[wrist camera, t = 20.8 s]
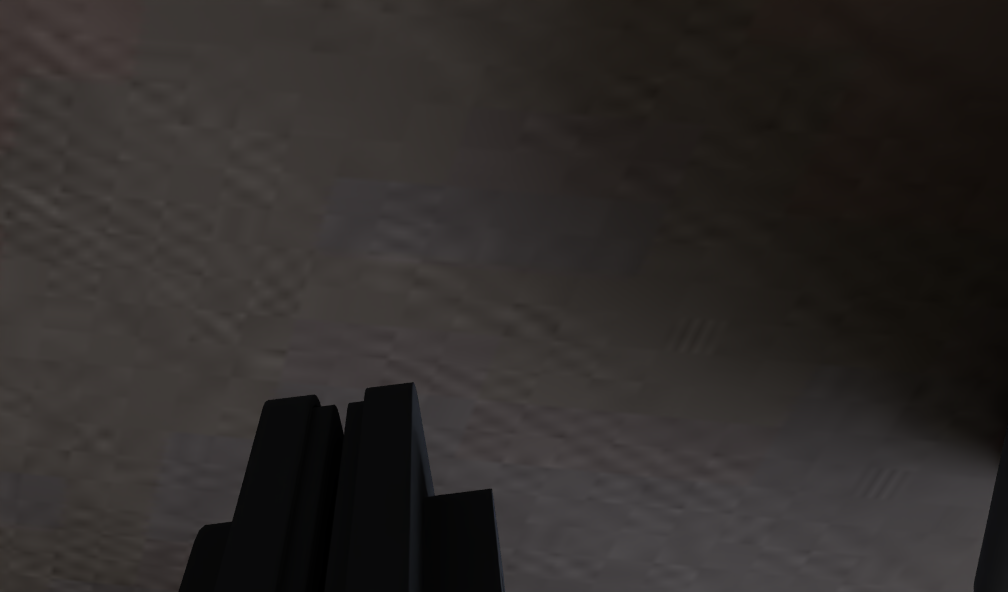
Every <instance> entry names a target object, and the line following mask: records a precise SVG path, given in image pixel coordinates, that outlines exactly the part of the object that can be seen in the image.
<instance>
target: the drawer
mask: <svg viewBox="0 0 1008 592" xmlns="http://www.w3.org/2000/svg"><path fill="white" fill-rule="evenodd" d="M974 592H1008V425H1007V430H1006V435H1005V439H1004V444H1003V449H1002V453H1001V458H1000V463H999V468H998V472H997V477H996V482H995V486H994V491H993V496H992V501H991V505H990V510H989V515H988V519H987V524H986V529H985V534H984V538H983V543H982V548H981V552H980V557H979V562H978V567H977V571H976V576H975V581H974Z"/></svg>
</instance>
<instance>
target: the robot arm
mask: <svg viewBox="0 0 1008 592" xmlns="http://www.w3.org/2000/svg"><path fill="white" fill-rule="evenodd" d="M179 592H505V586H504V577H503V569H502V561H501V553H500V545H499V537H498V529H497V522H496V514H495V507H494V499H493V493H492V489H485V490H477V491H469V492H461V493H453V494H446V495H438V496H435V494H434V488H433V482H432V477H431V471H430V465H429V459H428V454H427V448H426V442H425V436H424V431H423V425H422V419H421V413H420V408H419V402H418V396H417V391H416V387H415V384H414V382H412V383H404V384H396V385H388V386H380V387H371V388H367V389H366V390H365V396H364V401H361V402H353V403H349V404H348V408H347V416H346V424H345V432H344V434H343V429H342V425H341V420H340V416H339V412H338V409H337V407H336V406H335V405H329V406H321V405H320V402H319V399H318V397H317V396H316V395H307V396H299V397H291V398H283V399H275V400H268V401H266V402H265V404H264V406H263V409H262V413H261V416H260V420H259V424H258V428H257V431H256V435H255V439H254V442H253V446H252V450H251V454H250V457H249V461H248V465H247V468H246V472H245V476H244V480H243V483H242V487H241V491H240V495H239V498H238V502H237V506H236V509H235V513H234V517H233V521H232V522H226V523H218V524H210V525H205V526H204V527H202V528H201V529H200V530H199V532H198V534H197V537H196V539H195V541H194V544H193V547H192V550H191V554H190V557H189V560H188V563H187V566H186V570H185V573H184V576H183V579H182V582H181V586H180V589H179Z"/></svg>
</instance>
